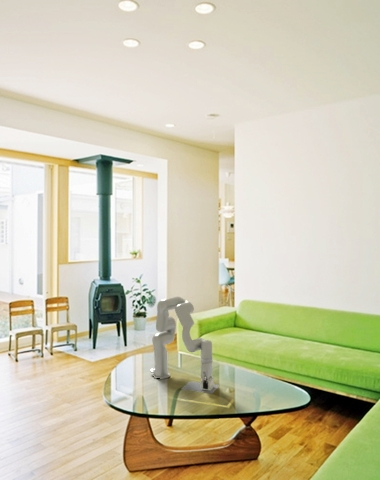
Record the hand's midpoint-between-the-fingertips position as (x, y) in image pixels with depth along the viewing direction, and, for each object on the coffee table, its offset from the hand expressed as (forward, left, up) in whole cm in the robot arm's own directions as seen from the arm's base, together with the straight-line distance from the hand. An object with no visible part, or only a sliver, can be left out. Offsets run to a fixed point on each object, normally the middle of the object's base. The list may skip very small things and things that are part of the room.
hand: (207, 386), depth 261 cm
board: (-5, 0, -2) cm, 5 cm away
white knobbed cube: (0, 0, -1) cm, 1 cm away
